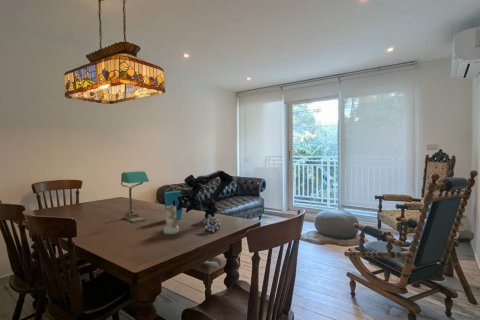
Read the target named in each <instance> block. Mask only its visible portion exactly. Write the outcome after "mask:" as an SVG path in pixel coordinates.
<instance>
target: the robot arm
mask: <svg viewBox="0 0 480 320" xmlns="http://www.w3.org/2000/svg"><path fill="white" fill-rule="evenodd" d="M218 178H219V185H218V186H217V187H216V189H215V190H214V191H213V193H212V194H211V195H210V197H205V199H204V200H203V201H202V203H201V201H200V200H199V199H198V197H199V193H200V192H201V191H205V189H204V186H206V185H207V184H209V183H210V182H211V181H213V180H216V179H218ZM233 180H234V178H233V175H230V174H229V173H226V172H225V171H224V170H217V171H214V172H211V173H209V174H206V175H199V176H197V177H195V176H194V175H193V174H189V175H188V176H186V177H185V178H184V180H183V181H184V183H185V184H186V185H187V186H188V189H183V188H182V189H180V191H181V192H180V194H182V196H178V197H177V199H178V201H179V204H178V207H177V211H179V210H180V209H181V208H182V207H183V208H184V206H186V204H187V203H189V204H188V206H187V208H186V209H185V214H186V213H187V214H188V213H189V212H190V211H192V210H194V209H195V208H198V207H200V206H201V207H202V209H203V212H205V213H204V218H205V221H206V218H207V217H208V215H210V216H212V217H214V216H216V213H217V211H218V208H217V207H216V204H217V203H216V201H217V200H218V198H220V196H221V194H222V193H223V191H224V190H225V188H226V187H227V186H229V185H230V184H232V183H233ZM190 188H191V189H190ZM201 204H202V205H201Z"/></svg>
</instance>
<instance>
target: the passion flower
mask: <svg viewBox="0 0 480 320" xmlns="http://www.w3.org/2000/svg"><path fill="white" fill-rule="evenodd" d="M201 221H202V223H203V224H205V225H204V227H203V229H204V230H205V229H207V231H208V232H212V233H214V232H215V230H220V229H221V224H222V223H221V222H220V219H219V218H218V219H217V215H215V216H214V217H212V216H210V215H208V217H207V218H206V221H205V217H203V218H202V220H201Z"/></svg>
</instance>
